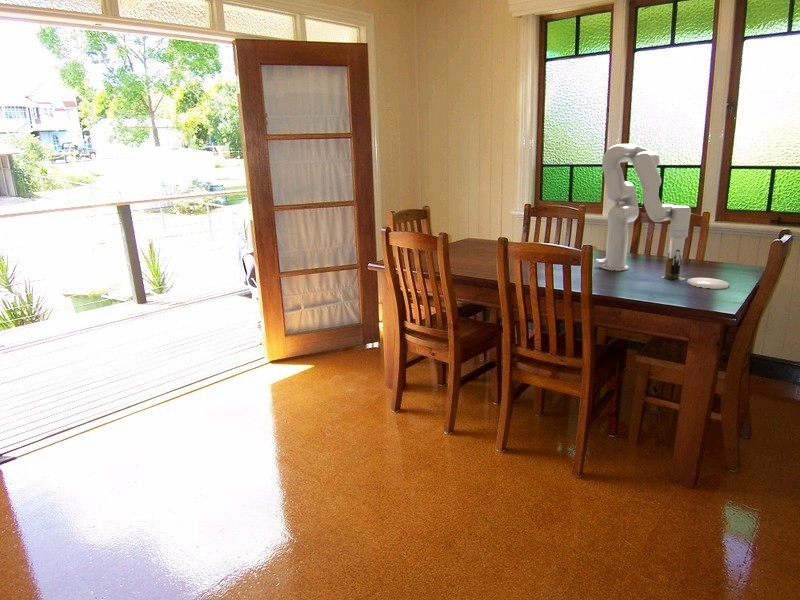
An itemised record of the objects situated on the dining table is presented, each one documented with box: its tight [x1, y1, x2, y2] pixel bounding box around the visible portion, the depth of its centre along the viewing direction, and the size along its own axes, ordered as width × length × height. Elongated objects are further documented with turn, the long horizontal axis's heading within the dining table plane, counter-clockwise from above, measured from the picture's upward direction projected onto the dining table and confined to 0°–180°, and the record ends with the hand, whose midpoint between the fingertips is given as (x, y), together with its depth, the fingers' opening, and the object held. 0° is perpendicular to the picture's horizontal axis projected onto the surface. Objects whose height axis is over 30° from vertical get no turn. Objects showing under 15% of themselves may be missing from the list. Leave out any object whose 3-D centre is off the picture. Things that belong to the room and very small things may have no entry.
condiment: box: [661, 253, 686, 282], centre depth 248 cm, size 7×8×12 cm
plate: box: [686, 277, 730, 290], centre depth 239 cm, size 16×16×1 cm
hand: (673, 271), depth 250 cm, fingers open, 6 cm apart
